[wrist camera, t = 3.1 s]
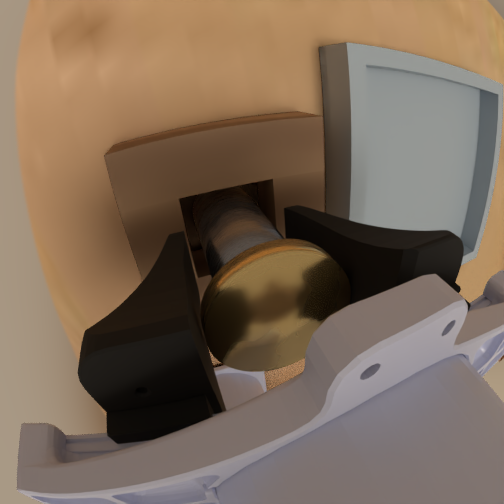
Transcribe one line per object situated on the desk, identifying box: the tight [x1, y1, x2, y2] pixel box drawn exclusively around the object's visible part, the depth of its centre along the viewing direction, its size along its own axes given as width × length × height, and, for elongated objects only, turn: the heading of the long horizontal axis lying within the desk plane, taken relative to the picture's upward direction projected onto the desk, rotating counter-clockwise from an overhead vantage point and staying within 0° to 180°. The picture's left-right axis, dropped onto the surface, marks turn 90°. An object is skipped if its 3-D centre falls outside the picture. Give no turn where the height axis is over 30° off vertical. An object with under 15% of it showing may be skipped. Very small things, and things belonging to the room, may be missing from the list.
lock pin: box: [192, 186, 351, 372], centre depth 12 cm, size 4×4×8 cm
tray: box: [319, 42, 503, 265], centre depth 17 cm, size 16×16×2 cm
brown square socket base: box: [104, 112, 325, 303], centre depth 14 cm, size 9×9×2 cm
